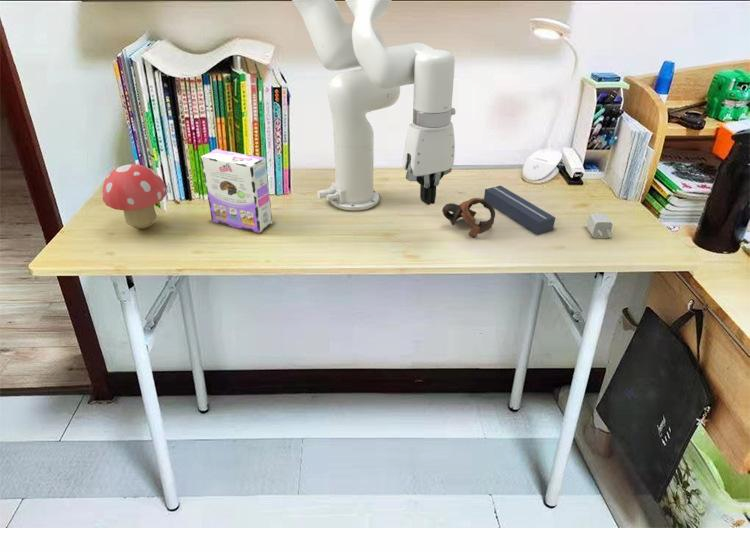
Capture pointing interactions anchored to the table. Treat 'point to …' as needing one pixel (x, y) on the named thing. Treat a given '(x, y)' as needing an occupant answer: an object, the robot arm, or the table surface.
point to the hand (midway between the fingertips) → (427, 201)
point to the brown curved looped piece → (469, 215)
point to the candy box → (237, 189)
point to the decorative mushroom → (134, 193)
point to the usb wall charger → (599, 225)
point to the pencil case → (519, 209)
